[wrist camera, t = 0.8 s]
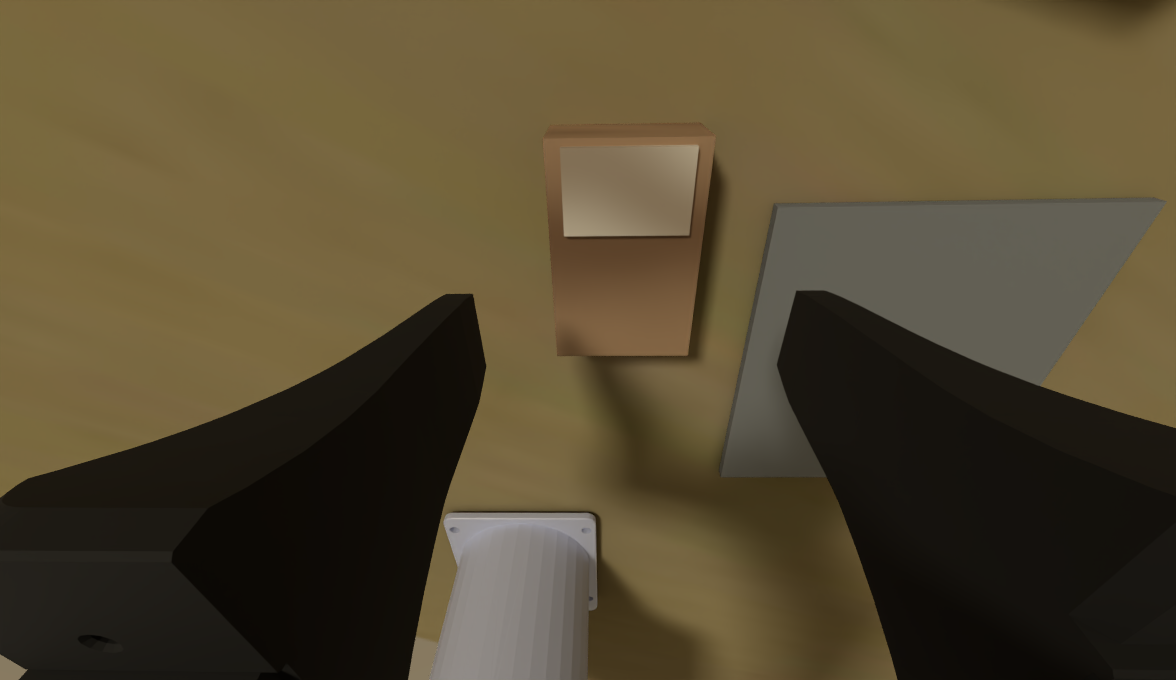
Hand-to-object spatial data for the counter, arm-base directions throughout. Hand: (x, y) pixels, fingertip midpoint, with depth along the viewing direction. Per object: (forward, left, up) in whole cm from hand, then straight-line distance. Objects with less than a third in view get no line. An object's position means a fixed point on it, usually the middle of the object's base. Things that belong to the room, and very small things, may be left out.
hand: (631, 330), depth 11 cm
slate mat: (-6, -11, -6) cm, 14 cm away
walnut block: (0, 0, -7) cm, 7 cm away
